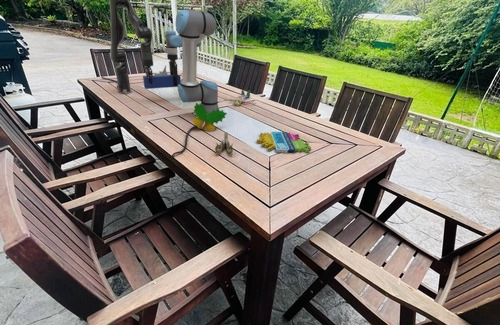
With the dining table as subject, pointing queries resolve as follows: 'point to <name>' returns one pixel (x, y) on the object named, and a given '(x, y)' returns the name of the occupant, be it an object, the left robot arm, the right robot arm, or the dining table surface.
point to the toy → (241, 99)
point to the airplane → (161, 72)
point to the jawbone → (224, 145)
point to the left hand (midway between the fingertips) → (150, 82)
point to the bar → (160, 81)
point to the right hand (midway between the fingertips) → (174, 85)
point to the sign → (283, 142)
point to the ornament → (207, 117)
